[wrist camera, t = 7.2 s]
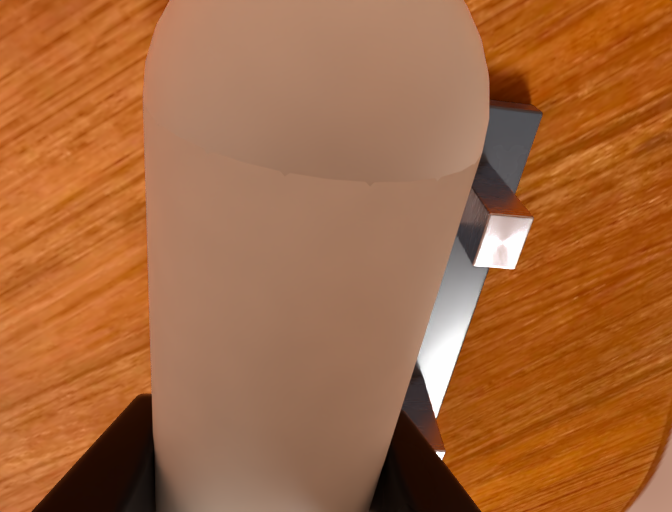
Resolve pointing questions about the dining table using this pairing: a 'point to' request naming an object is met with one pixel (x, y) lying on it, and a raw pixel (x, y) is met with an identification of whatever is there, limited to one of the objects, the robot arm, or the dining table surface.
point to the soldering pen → (298, 236)
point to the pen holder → (474, 258)
